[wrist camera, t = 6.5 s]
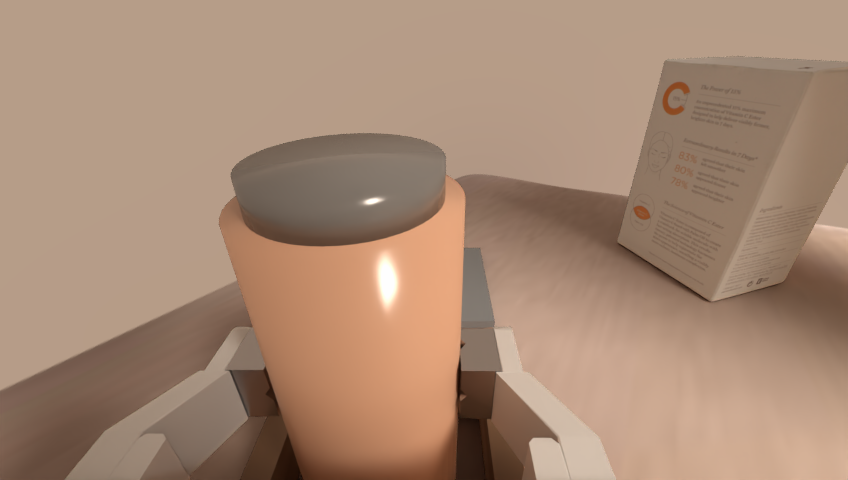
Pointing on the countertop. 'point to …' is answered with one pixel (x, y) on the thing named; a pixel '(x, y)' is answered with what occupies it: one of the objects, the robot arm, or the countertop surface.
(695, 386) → the countertop surface
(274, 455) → the brown wooden square tray
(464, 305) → the mat
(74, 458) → the countertop surface
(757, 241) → the small box
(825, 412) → the countertop surface
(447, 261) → the jar
